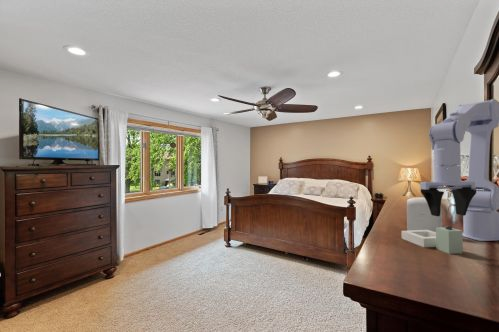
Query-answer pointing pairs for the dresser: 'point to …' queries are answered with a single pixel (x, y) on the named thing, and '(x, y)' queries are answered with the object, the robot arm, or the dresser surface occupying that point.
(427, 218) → the photo printer
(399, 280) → the dresser surface
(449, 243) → the pale green block
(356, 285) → the dresser surface
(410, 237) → the white square frame
